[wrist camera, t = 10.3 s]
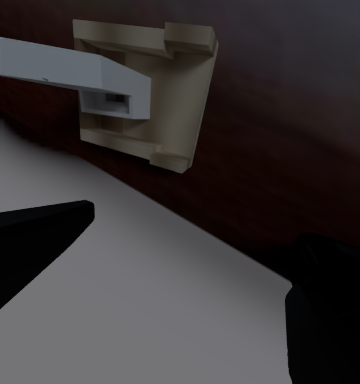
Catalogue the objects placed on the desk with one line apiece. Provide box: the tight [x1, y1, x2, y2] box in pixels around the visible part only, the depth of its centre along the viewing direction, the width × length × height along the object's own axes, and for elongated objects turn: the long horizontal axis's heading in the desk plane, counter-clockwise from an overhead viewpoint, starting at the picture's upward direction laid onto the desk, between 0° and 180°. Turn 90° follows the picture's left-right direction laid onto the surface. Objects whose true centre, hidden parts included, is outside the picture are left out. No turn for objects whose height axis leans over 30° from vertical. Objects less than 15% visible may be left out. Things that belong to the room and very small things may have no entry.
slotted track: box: [73, 19, 219, 173], centre depth 17 cm, size 12×11×4 cm
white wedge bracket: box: [0, 37, 151, 119], centre depth 15 cm, size 4×10×9 cm, turn 83°
